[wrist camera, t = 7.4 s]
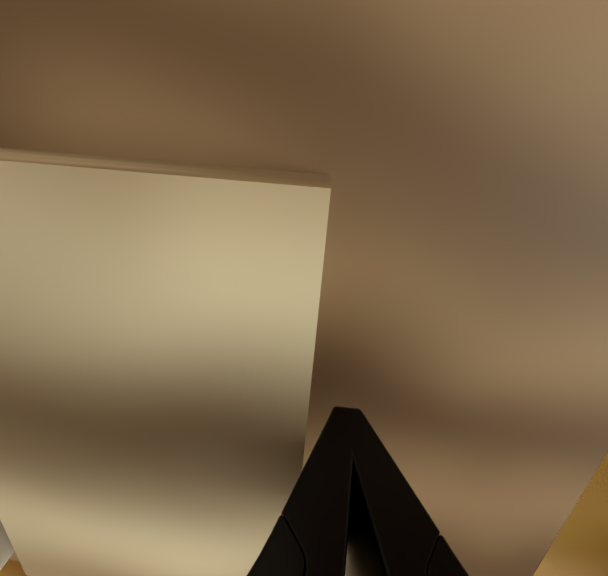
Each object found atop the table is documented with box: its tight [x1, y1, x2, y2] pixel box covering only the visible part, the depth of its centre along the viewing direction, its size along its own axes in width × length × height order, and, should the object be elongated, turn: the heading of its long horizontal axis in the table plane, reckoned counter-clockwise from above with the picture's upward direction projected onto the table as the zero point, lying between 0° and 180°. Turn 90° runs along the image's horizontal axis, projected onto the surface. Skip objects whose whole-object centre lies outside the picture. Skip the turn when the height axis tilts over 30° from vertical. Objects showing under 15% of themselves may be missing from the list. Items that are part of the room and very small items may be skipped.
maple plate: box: [0, 147, 331, 576], centre depth 9 cm, size 12×8×2 cm, turn 176°
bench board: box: [0, 0, 608, 576], centre depth 9 cm, size 22×22×5 cm
